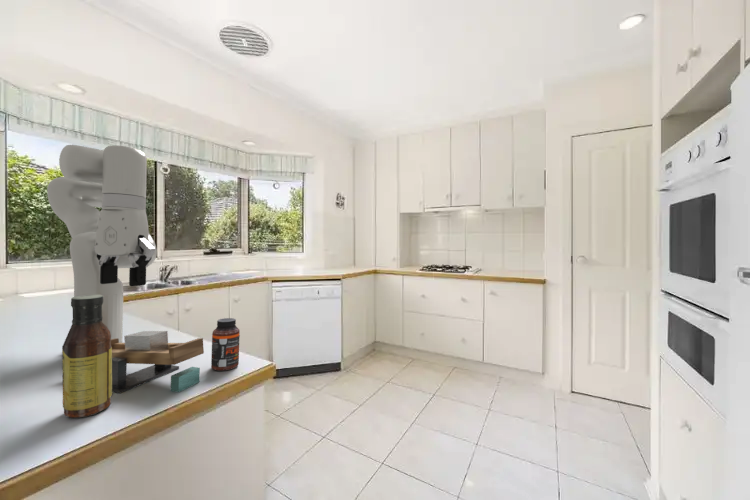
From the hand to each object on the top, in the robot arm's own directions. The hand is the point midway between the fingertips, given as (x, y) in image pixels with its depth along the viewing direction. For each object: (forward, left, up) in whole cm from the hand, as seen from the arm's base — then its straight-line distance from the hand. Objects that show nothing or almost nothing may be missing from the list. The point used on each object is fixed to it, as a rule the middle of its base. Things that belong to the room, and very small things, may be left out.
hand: (123, 284), depth 69 cm
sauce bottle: (+11, -13, -20) cm, 26 cm away
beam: (+6, 0, -18) cm, 19 cm away
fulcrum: (+6, 0, -20) cm, 21 cm away
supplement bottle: (+18, +11, -20) cm, 29 cm away
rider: (+8, 0, -14) cm, 16 cm away
